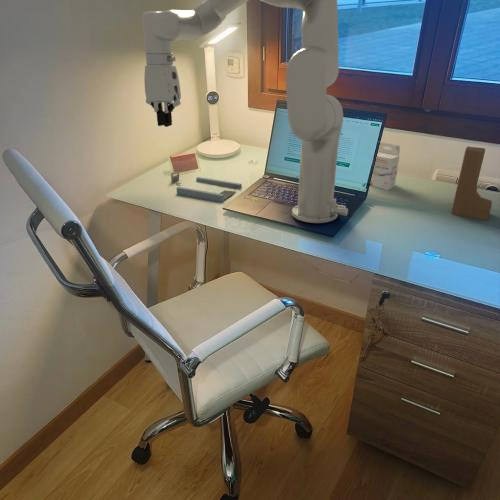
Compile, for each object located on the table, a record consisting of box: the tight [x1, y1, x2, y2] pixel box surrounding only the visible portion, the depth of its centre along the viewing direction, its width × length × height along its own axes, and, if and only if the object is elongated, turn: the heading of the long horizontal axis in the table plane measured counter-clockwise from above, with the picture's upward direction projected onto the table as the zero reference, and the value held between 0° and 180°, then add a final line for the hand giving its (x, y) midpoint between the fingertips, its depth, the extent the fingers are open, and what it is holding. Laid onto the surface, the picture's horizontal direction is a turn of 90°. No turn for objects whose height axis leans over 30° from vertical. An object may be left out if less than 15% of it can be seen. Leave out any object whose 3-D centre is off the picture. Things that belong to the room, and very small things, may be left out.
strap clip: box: [170, 171, 183, 187], centre depth 144 cm, size 8×3×4 cm, turn 46°
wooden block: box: [450, 146, 493, 221], centre depth 116 cm, size 9×4×18 cm, turn 62°
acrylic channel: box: [176, 176, 242, 203], centre depth 137 cm, size 16×12×2 cm
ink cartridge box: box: [369, 141, 401, 191], centre depth 135 cm, size 9×5×15 cm, turn 46°
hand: (164, 125), depth 135 cm, fingers closed
